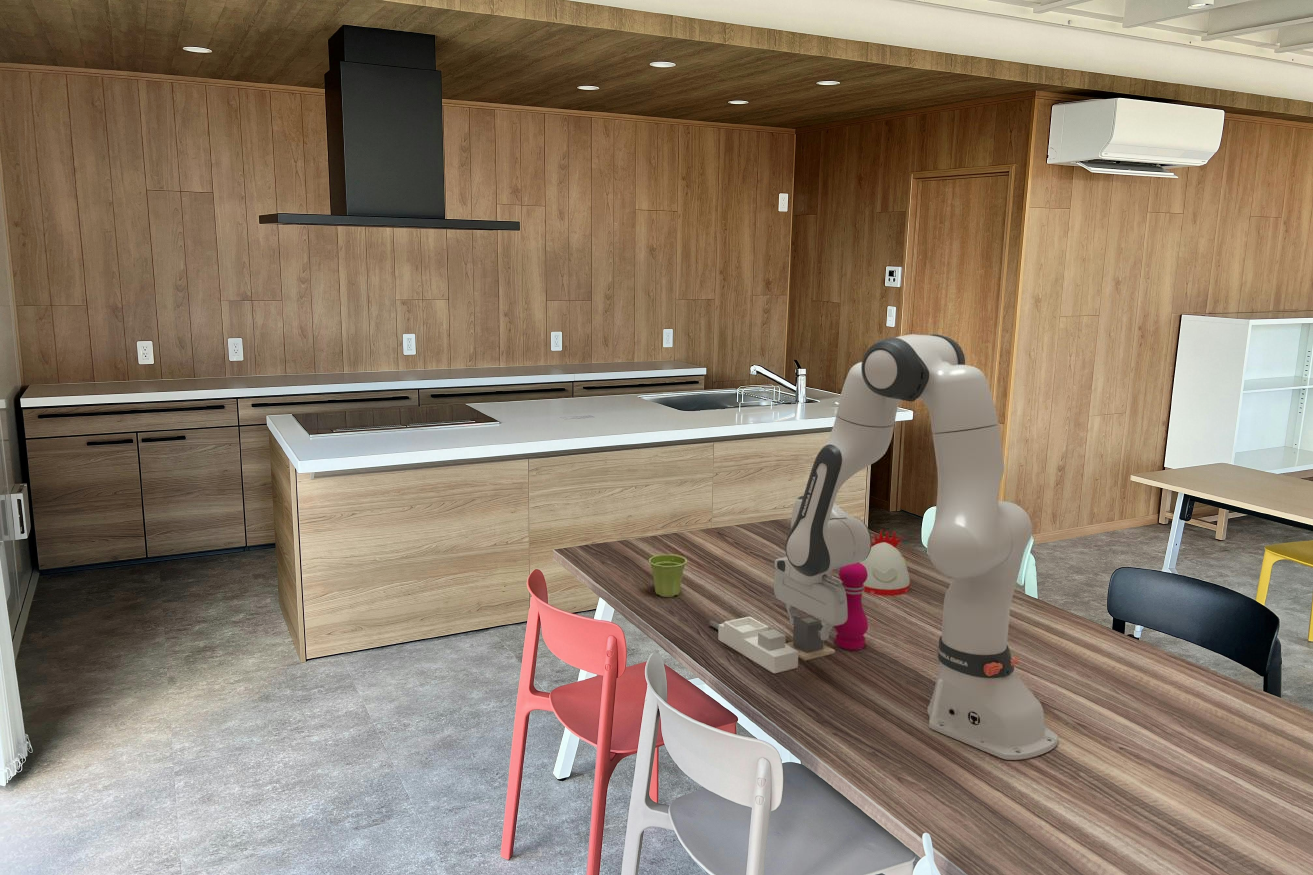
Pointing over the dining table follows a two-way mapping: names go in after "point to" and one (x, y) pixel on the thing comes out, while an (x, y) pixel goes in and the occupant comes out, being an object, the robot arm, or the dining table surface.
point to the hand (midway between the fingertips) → (808, 631)
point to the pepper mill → (853, 608)
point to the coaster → (811, 655)
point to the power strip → (750, 645)
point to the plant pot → (667, 574)
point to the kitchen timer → (886, 568)
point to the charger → (807, 634)
